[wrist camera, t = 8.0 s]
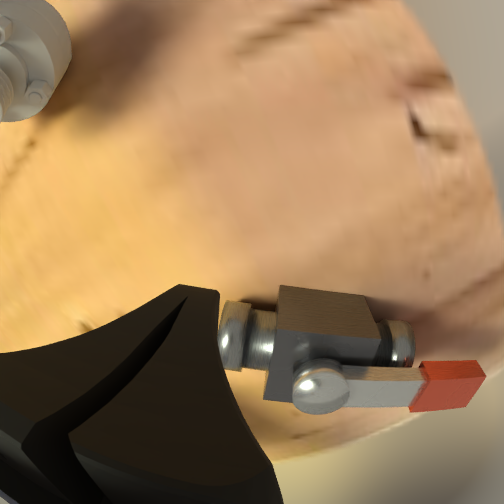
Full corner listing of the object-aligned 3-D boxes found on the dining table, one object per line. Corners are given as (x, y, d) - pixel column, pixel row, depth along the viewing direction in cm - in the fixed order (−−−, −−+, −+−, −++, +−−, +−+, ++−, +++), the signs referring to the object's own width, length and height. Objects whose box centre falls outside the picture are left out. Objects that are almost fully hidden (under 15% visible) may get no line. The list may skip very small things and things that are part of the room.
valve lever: (288, 389, 17) (287, 412, 16) (298, 352, 16) (299, 375, 14) (456, 391, 17) (465, 408, 15) (476, 358, 15) (487, 376, 14)
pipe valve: (378, 361, 22) (392, 406, 18) (225, 345, 23) (213, 391, 18) (404, 300, 20) (428, 341, 15) (231, 278, 21) (216, 319, 16)
